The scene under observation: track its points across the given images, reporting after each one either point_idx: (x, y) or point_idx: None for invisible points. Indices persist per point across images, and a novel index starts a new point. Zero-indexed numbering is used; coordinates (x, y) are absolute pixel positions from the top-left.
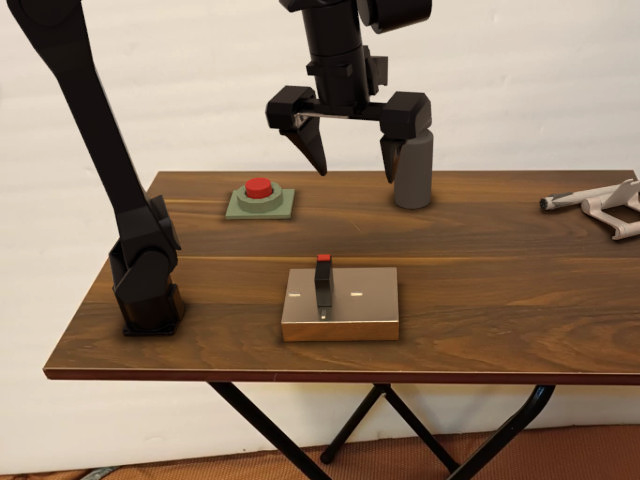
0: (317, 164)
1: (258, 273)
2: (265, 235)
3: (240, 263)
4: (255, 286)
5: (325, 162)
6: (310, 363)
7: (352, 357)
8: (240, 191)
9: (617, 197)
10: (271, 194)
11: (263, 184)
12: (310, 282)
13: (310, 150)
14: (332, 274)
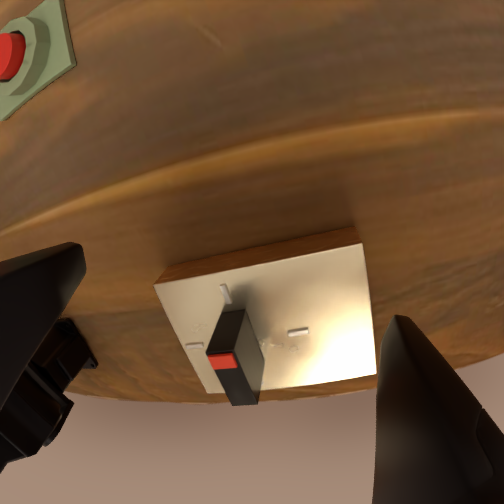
0: (50, 328)
1: (102, 240)
2: (61, 133)
3: (68, 222)
4: (116, 272)
5: (52, 266)
6: (263, 394)
7: None
8: None
9: None
10: (25, 52)
11: (3, 53)
12: (205, 316)
13: (9, 381)
14: (245, 336)
